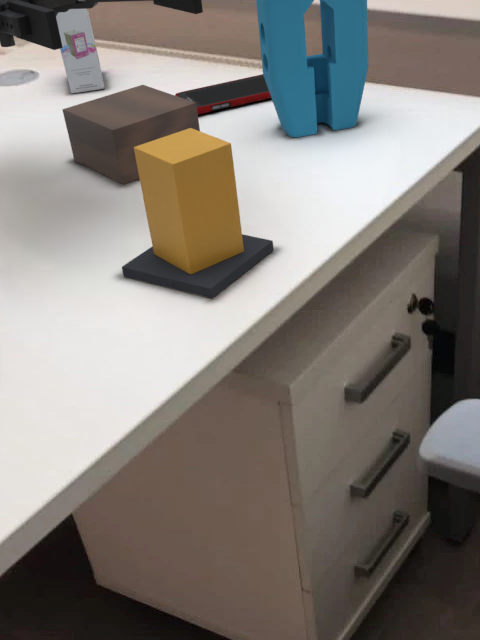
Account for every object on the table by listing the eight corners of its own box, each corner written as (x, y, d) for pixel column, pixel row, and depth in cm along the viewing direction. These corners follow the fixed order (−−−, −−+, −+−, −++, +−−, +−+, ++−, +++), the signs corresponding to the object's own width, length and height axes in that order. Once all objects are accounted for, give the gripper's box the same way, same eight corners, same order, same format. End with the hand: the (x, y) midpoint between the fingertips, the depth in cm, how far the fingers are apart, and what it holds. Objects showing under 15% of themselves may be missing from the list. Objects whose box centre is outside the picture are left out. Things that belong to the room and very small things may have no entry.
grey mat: (212, 298, 76) (210, 288, 76) (123, 276, 81) (121, 266, 80) (273, 250, 83) (273, 240, 82) (188, 232, 87) (187, 222, 86)
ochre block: (190, 275, 78) (172, 164, 71) (153, 254, 81) (133, 146, 75) (244, 251, 81) (231, 142, 74) (206, 232, 84) (190, 127, 78)
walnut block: (123, 184, 98) (112, 130, 94) (74, 160, 104) (62, 109, 101) (203, 155, 103) (196, 102, 99) (151, 134, 110) (142, 84, 106)
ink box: (67, 77, 131) (48, -11, 124) (101, 73, 132) (84, -15, 125) (69, 94, 125) (48, 2, 117) (105, 89, 125) (86, -2, 118)
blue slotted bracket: (357, 111, 111) (352, -72, 98) (372, 123, 107) (368, -65, 95) (266, 127, 109) (248, -57, 96) (277, 140, 105) (260, -50, 92)
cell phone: (296, 93, 118) (295, 85, 117) (193, 116, 113) (192, 108, 113) (272, 79, 123) (271, 72, 123) (173, 101, 119) (172, 93, 118)
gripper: (-134, -39, 76) (-29, -10, 63) (114, -84, 88) (245, -66, 75) (-103, 53, 81) (0, 98, 68) (128, -1, 93) (253, 29, 80)
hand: (129, 12), depth 71 cm, fingers open, 13 cm apart
